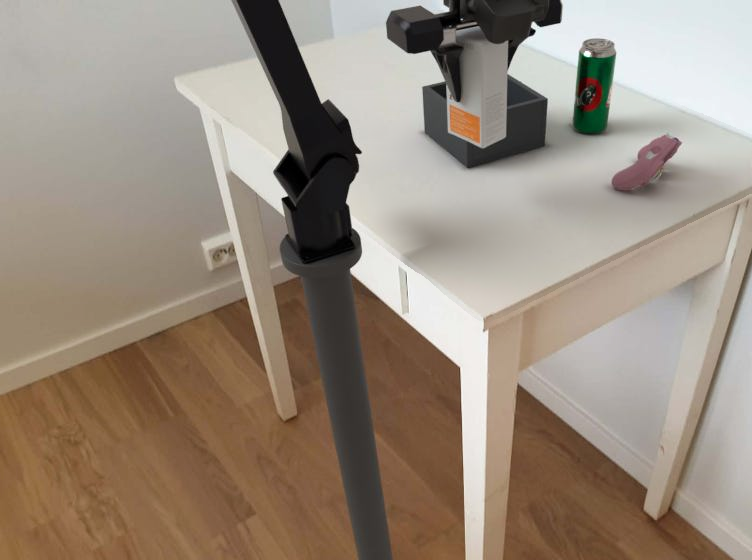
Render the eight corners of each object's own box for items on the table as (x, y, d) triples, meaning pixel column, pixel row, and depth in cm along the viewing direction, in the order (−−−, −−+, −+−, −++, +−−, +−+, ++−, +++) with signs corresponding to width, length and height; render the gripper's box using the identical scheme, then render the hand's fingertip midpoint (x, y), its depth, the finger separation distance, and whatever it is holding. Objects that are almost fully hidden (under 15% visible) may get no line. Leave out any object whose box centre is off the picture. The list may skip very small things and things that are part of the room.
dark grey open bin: (467, 168, 98) (466, 119, 93) (424, 132, 106) (422, 86, 101) (545, 145, 102) (548, 98, 98) (498, 113, 111) (498, 68, 106)
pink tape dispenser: (633, 208, 93) (665, 169, 87) (605, 185, 93) (636, 145, 87) (662, 175, 99) (694, 137, 93) (636, 154, 99) (666, 115, 93)
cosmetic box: (446, 134, 87) (442, 29, 79) (471, 122, 89) (470, 20, 81) (482, 150, 84) (482, 43, 76) (507, 138, 86) (510, 32, 78)
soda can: (611, 133, 105) (623, 48, 97) (578, 137, 104) (586, 51, 96) (600, 119, 108) (609, 35, 100) (567, 122, 108) (574, 38, 100)
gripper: (427, -23, 64) (435, 143, 75) (599, -53, 71) (584, 104, 81) (377, -51, 72) (391, 104, 82) (537, -76, 78) (531, 71, 88)
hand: (476, 96), depth 83 cm, fingers closed on cosmetic box, 5 cm apart
